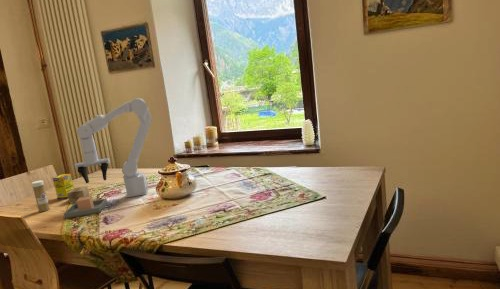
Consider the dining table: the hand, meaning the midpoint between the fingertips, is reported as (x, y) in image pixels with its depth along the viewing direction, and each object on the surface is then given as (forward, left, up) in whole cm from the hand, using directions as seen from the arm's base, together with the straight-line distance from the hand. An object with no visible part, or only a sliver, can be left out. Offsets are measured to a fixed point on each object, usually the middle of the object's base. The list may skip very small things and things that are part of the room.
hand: (96, 181), depth 172 cm
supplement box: (+21, -18, -10) cm, 29 cm away
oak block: (+12, -10, -10) cm, 18 cm away
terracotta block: (+3, +11, -9) cm, 14 cm away
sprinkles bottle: (+25, -1, -10) cm, 27 cm away
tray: (+3, +11, -9) cm, 15 cm away
